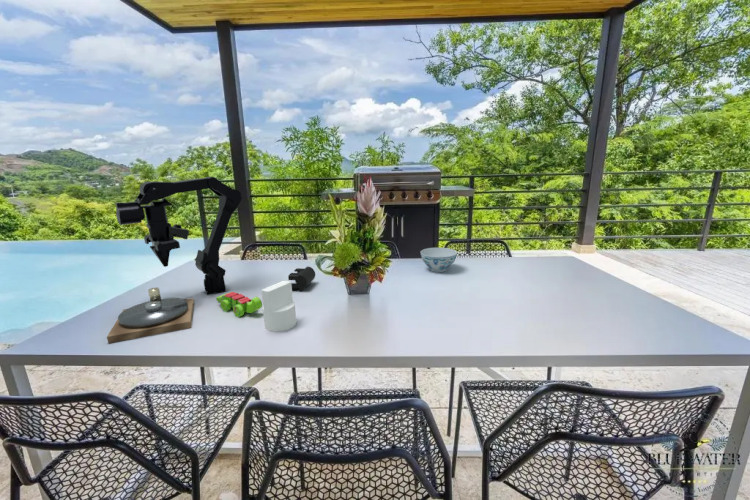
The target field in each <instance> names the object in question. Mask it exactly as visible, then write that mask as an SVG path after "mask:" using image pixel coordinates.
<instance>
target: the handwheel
mask: <svg viewBox="0 0 750 500" xmlns="http://www.w3.org/2000/svg"><path fill="white" fill-rule="evenodd" d="M147 292H148V296H149V301H145V302H141V303H139V304H136V305H132V306H130V307H128V308H125V309H126V310H125V311H123V310H122V311H123V312H122V311H121V313H119V315H118V317H117V319H118V320H119V324H120V325H121V326H123V327H126V328H143V327H150V326H155V325H159V324H163V323H166V322H169V321H172V320H174V319H176V318H178V317H180V316H182V315H183V314H185V313H186V312H187V310H188V303H187V301H185V300H184V299H183V298H179V297H178V298H175V297H172V298H171V297H170V298H162V297H161V291H160V287H151V288H149V289H147Z"/></svg>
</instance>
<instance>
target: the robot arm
mask: <svg viewBox="0 0 750 500" xmlns="http://www.w3.org/2000/svg"><path fill="white" fill-rule="evenodd" d="M207 189H209V190H210V191H211V192H213V194H215V195H216V196H218V212H217V215H216V218H215V220H214V223H213V226H212V229H211V232H210V234H209V237H208V239H207V243H206V246H204V248H203V250H200V249H198V250H197V253H196V257H195V258H194V259H193V260H194V261H195V267H196V269H198V270H199V271H200V272H202V273H203V275H204V278H203V286H204V291H205V292H206V295H210V294H211V295H212V294H217V293H223V292H227V288H226V283H225V275H226V271H227V270H226V269H224V268H223V267H221V266H220V265H219V262H220V249H221V245H222V243H223V240H224V237H225V235H226V231H227V229H228V227H229V223H230V220H231V218H232V215H233V213H234V212H236V210H238V208H239V206H240V204H241V202H242V200H243V195H242V192H241V191H239V190H238V189H236V188H232V187H230V186H228V185H226V183H223V182H221V181H220V180H219V179H217V178H216V177H215V176H206V177H202V178H195V179H186V180H177V181H152V180H151V181H144V182H142V184H141V185H140V186H139V194H138V195H137V197H136V198H135V200H134V201H130V202H129V201H128V202H127V201H126V202H121V201H120V202H115V210H116V211H115V212H116V213H115V214H116V215H115V217H116V219H117V223H118V225H119V226H124V225H133V224H139V223H140V224H141V223H142V221H144V220H145V219H146V222H147V223H146V224H145V225H146V228H148V234H146V235H144V237H143V239H144V244H146V245H149V244H150V243H151V245H149V249H151V251H152V252H153V254H154V255H155V257H157V259H158V260H159V262H160V263H161V264H162V266H163V267H165V268H167V267H168V266H169V261H170V252H171V251H172V250H176V249H180V248H181V245H180V242H179V240H176V239H175V238H179V239H183V240H188V238H189V232H190V230H189V229H186V228H183V227H182V225H181V224H177V223H175V224H174V225H173V226H172V224H171V223H170V222H168V216H167V209H166V207H168V206H169V207H171V206H173V204H172V202H170V201H169V200H167V198H168V197H171V196H173V195H176V194H180V193H187V192H194V191H195V192H196V191H201V190H207ZM174 237H175V238H174Z"/></svg>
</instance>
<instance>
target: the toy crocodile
mask: <svg viewBox="0 0 750 500" xmlns="http://www.w3.org/2000/svg"><path fill="white" fill-rule="evenodd" d="M215 300H216V301H217V303H218V304H220V308H221V309H222V311H224V312H228V311H230V310H232V311H233V314H234V316H235V317H237V318H241V317H242V316H244V314H245V313H247V314H248V313H249V314H253V313H254V312H256V311H257V310H259V309H261V308H263V301H262V300H261V298H259V296H255V297H254V296H253V298H251V299H250V298H249V297H248V296H245V295H244V294H242V293H238V292H235V291H231V292H228V293H225V294H224V293H223V294H222V295H219V296H217V297H215Z"/></svg>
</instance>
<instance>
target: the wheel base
mask: <svg viewBox="0 0 750 500" xmlns="http://www.w3.org/2000/svg"><path fill="white" fill-rule="evenodd" d="M183 300H185V301H187V303H188V310H187V312H186V313H185V314H183V315H182V316H180V317H178V318H176V319H174V320H172V321H169V322H166V323H163V324H159V325H155V326H150V327H143V328H126V327H123V326H121V325H120V324H119V320H118V318H117V319H116V321H115V323H114V324H113V326H112V327H111V329H110V331H109V332H108V334H107V336H106V339H107V344H109V345H110V344H114V343H119V342H124V341H129V340H133V339H135V340H136V339H139V338H144V337H146V338H147V337H150V336H156V335H161V334H166V333H171V332H176V331H181V330H186V329H190V328H192V325H193V318H194V310H195V299H194V297H191V298H185V299H183ZM126 309H127V308H124V309H122V311H121V313H122V312H123V311H125V310H126Z"/></svg>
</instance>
